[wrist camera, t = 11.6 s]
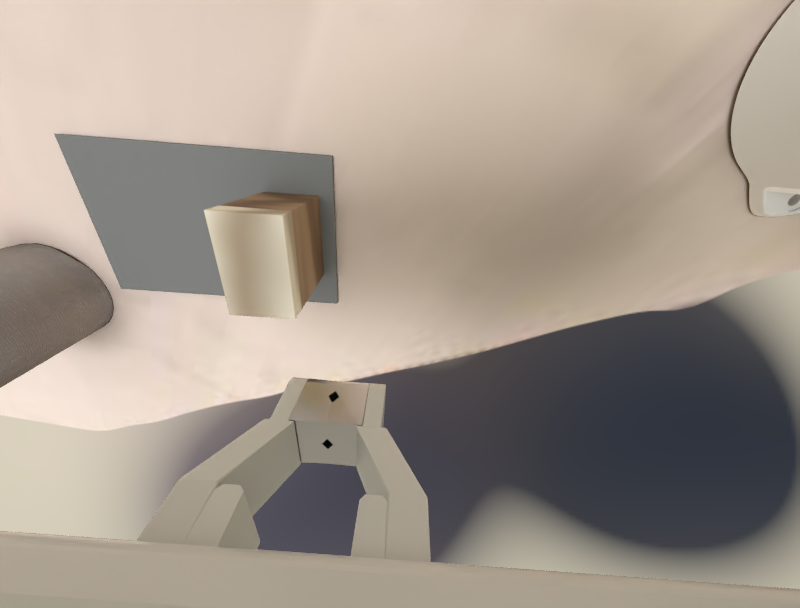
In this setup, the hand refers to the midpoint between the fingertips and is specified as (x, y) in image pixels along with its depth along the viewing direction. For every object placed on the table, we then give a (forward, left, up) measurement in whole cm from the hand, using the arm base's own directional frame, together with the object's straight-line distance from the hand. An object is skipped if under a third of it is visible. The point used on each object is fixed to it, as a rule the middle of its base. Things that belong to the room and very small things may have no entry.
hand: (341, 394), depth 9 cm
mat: (+15, 0, -19) cm, 24 cm away
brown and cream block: (+8, 0, -18) cm, 20 cm away
